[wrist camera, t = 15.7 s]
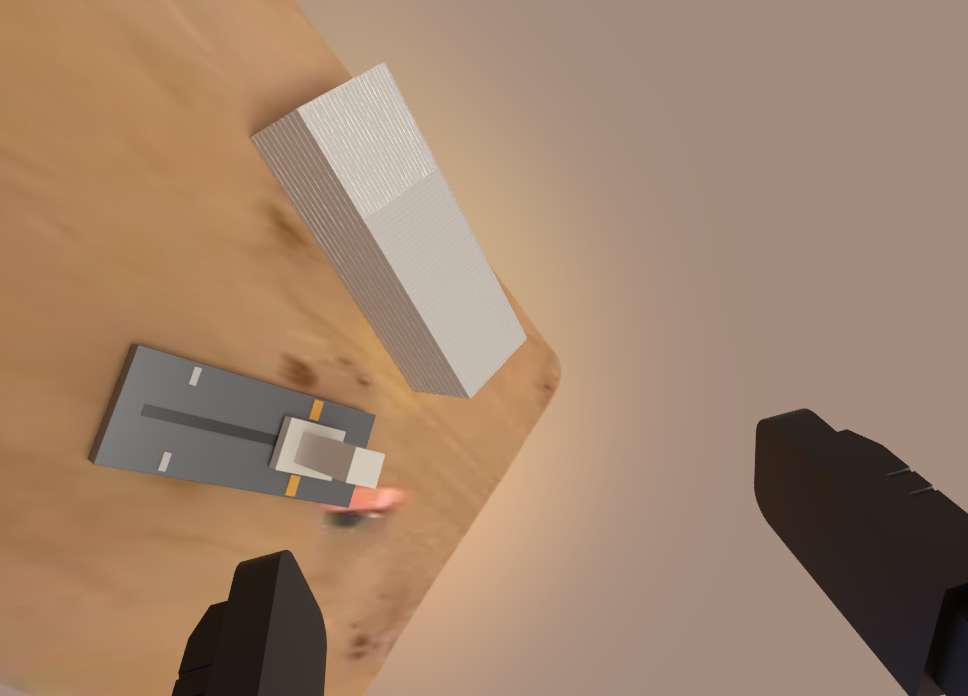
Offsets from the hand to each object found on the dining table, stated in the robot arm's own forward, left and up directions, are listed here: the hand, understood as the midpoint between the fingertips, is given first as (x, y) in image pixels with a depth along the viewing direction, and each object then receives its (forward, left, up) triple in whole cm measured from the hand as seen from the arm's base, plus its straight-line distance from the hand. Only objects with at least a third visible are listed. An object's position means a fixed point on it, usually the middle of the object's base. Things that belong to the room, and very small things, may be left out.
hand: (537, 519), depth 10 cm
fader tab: (+13, -16, -49) cm, 53 cm away
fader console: (+10, -12, -52) cm, 54 cm away
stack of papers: (+31, -2, -52) cm, 61 cm away
